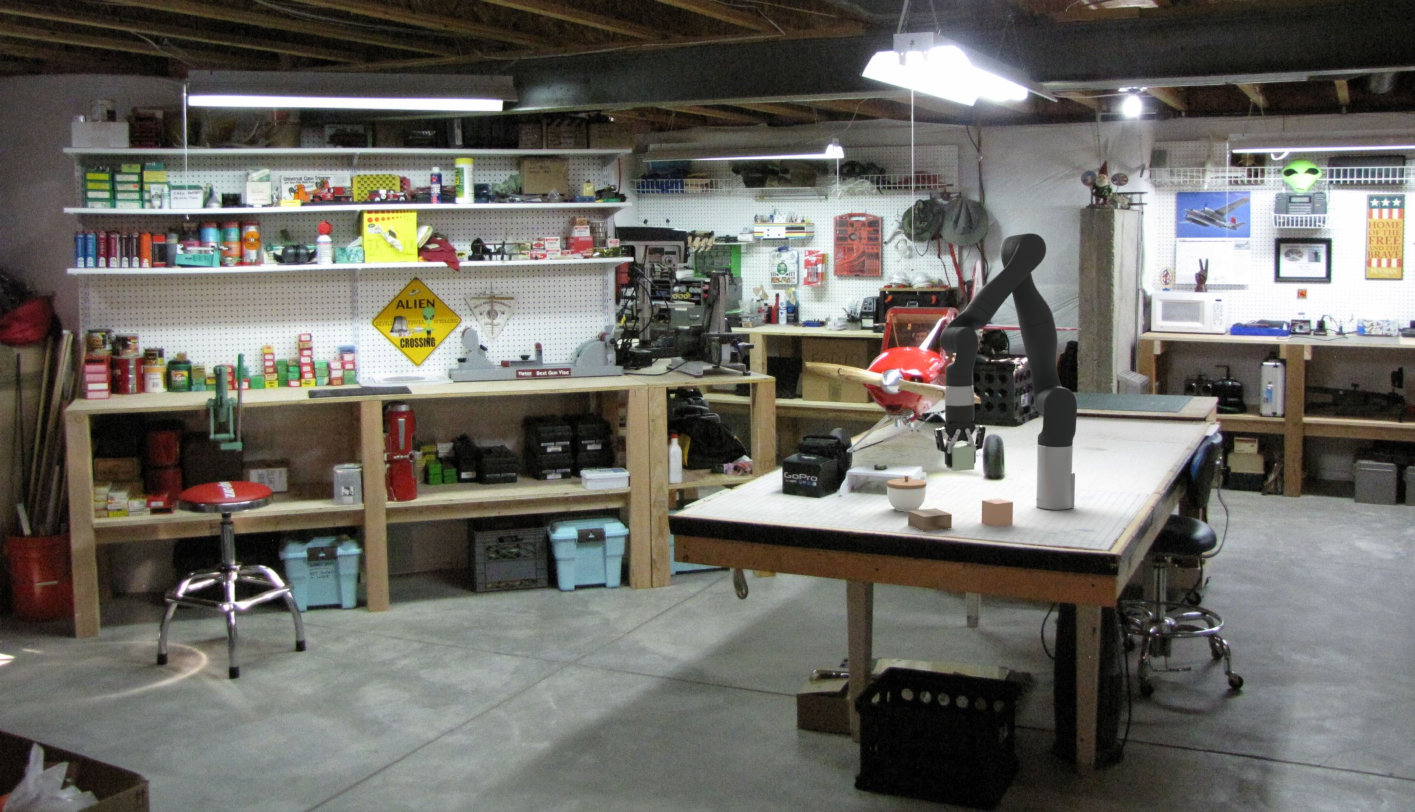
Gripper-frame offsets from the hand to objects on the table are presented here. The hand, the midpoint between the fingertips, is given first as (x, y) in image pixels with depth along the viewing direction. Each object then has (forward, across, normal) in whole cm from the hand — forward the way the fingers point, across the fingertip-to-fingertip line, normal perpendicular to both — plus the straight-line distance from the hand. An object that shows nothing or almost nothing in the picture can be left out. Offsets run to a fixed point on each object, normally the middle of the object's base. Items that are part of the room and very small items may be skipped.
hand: (960, 466), depth 324 cm
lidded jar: (+14, +10, -12) cm, 21 cm away
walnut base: (+14, +13, +10) cm, 21 cm away
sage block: (+1, 0, 0) cm, 1 cm away
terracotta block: (+14, -5, +11) cm, 18 cm away
